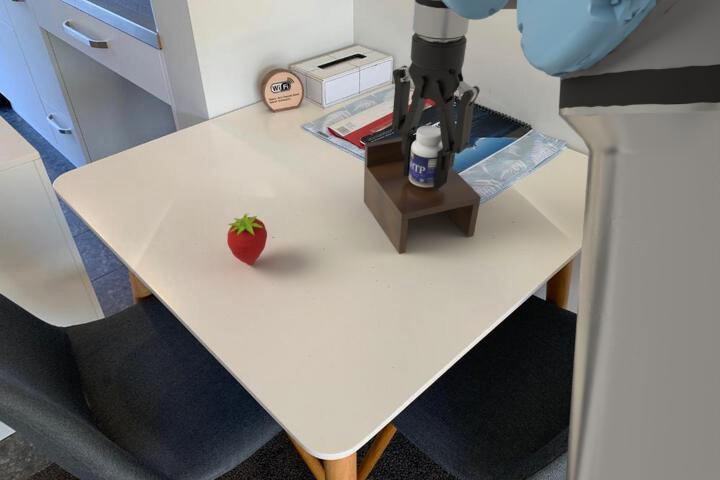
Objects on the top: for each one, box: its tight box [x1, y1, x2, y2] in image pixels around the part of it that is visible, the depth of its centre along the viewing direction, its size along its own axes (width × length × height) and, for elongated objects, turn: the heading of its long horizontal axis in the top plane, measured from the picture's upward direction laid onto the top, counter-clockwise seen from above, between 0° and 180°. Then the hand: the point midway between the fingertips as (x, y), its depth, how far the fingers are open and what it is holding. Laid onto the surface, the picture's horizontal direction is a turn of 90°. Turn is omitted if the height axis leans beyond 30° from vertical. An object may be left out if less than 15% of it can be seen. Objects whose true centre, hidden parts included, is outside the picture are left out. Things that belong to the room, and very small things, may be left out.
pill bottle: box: [409, 125, 443, 188], centre depth 83 cm, size 5×5×9 cm
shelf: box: [363, 136, 482, 254], centre depth 89 cm, size 16×14×12 cm
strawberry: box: [226, 212, 268, 266], centre depth 80 cm, size 6×8×10 cm
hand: (424, 178), depth 86 cm, fingers closed on pill bottle, 5 cm apart
